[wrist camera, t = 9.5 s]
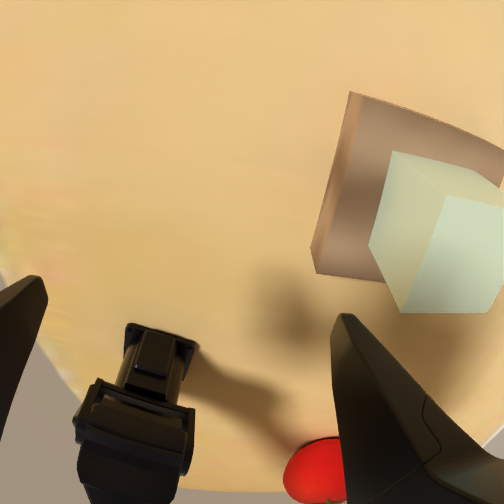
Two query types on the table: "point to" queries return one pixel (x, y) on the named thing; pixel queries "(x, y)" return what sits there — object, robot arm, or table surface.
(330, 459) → the tomato
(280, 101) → the table surface
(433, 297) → the cube
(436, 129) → the walnut block
